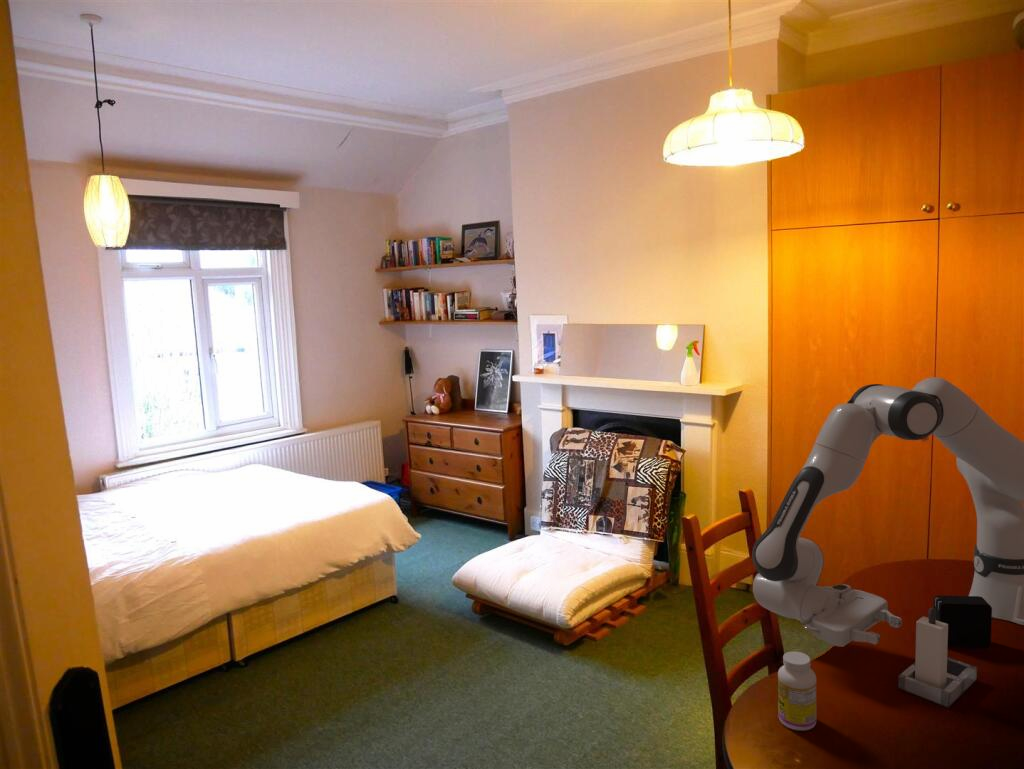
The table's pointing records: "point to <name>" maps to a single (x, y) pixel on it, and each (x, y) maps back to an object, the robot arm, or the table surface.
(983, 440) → the robot arm
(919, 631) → the plug
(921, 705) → the table surface
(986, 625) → the electronic device
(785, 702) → the supplement bottle
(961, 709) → the table surface
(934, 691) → the socket box
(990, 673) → the table surface
